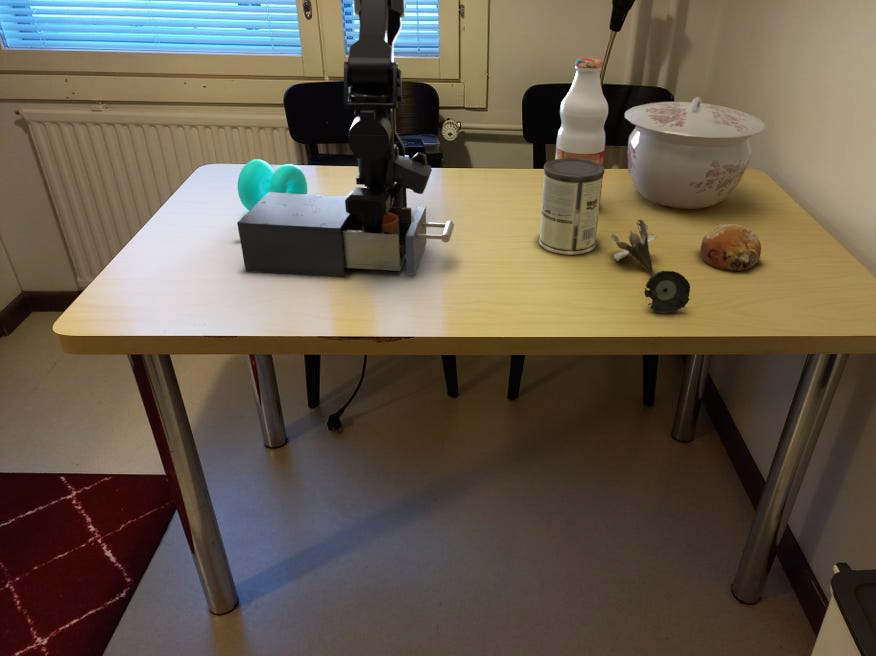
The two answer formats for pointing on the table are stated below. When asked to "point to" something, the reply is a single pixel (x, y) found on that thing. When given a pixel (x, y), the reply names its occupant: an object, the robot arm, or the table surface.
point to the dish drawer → (390, 242)
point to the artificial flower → (664, 285)
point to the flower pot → (389, 223)
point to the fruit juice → (583, 115)
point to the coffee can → (570, 205)
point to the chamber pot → (688, 151)
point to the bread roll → (731, 248)
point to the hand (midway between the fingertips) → (380, 236)
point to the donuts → (268, 181)
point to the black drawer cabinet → (295, 235)
